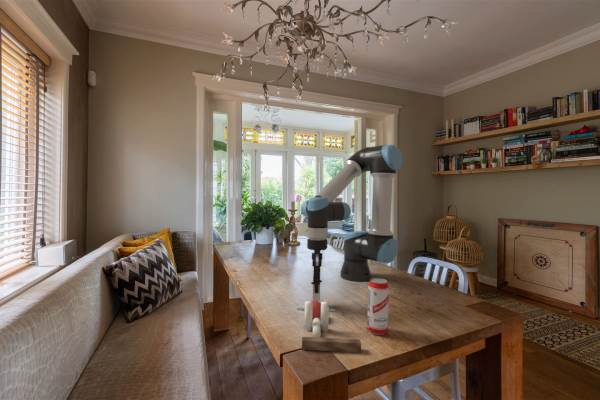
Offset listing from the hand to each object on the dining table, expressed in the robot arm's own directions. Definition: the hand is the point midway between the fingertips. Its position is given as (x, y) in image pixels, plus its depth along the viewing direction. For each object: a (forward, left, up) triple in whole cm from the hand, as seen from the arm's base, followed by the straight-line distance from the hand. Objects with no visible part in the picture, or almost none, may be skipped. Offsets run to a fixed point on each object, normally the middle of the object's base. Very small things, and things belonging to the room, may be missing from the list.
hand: (316, 300), depth 107 cm
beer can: (-19, +18, -2) cm, 26 cm away
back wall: (-4, +29, -2) cm, 29 cm away
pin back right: (-2, +18, -2) cm, 19 cm away
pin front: (0, +15, -1) cm, 15 cm away
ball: (+1, +11, +1) cm, 11 cm away
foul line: (0, +4, -2) cm, 4 cm away
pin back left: (+2, +18, -2) cm, 19 cm away
